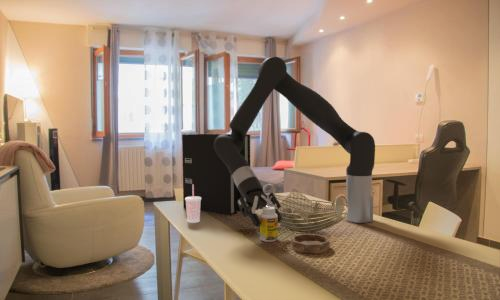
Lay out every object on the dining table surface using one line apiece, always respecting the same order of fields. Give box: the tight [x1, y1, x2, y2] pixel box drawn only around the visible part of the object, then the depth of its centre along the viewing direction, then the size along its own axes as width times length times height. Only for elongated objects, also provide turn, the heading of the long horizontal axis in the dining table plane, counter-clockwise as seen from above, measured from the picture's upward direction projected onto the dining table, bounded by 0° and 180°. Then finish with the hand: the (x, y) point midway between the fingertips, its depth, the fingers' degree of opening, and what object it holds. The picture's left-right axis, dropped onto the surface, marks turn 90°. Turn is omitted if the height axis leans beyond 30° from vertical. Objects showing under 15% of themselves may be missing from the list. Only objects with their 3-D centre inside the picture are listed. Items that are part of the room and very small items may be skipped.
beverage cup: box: [185, 184, 201, 224], centre depth 146 cm, size 6×6×14 cm
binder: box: [181, 133, 251, 217], centre depth 167 cm, size 27×15×32 cm, turn 51°
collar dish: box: [291, 233, 330, 255], centre depth 114 cm, size 11×11×3 cm
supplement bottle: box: [259, 207, 279, 243], centre depth 122 cm, size 6×6×10 cm
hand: (269, 223), depth 122 cm, fingers open, 8 cm apart
